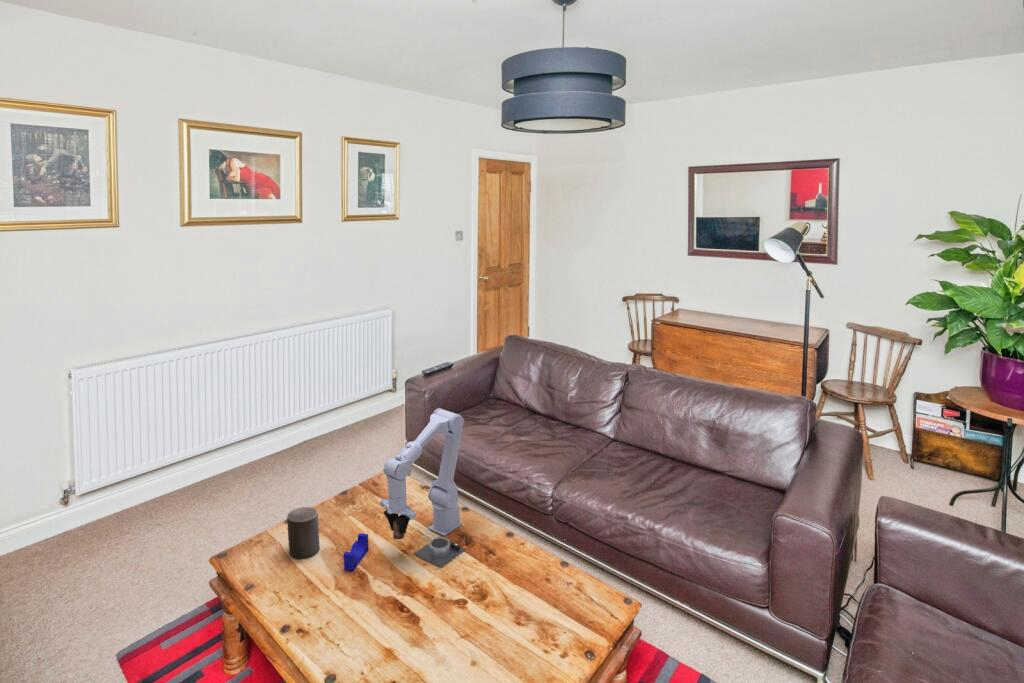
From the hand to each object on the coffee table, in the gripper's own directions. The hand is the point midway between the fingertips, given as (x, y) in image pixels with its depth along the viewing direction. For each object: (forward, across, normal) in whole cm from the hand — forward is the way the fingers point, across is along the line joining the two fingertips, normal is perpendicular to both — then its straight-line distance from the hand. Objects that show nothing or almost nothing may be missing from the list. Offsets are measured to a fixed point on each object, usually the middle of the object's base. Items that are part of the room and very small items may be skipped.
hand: (398, 531), depth 194 cm
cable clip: (+9, -10, -10) cm, 17 cm away
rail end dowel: (+2, 0, 0) cm, 2 cm away
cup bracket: (+9, +10, +9) cm, 16 cm away
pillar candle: (+9, -27, -17) cm, 33 cm away
